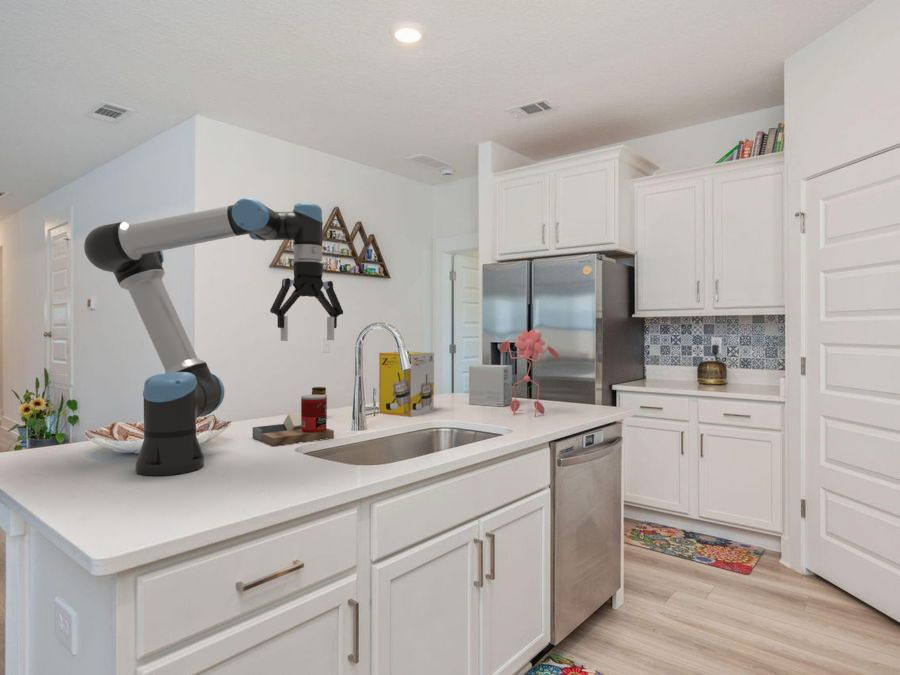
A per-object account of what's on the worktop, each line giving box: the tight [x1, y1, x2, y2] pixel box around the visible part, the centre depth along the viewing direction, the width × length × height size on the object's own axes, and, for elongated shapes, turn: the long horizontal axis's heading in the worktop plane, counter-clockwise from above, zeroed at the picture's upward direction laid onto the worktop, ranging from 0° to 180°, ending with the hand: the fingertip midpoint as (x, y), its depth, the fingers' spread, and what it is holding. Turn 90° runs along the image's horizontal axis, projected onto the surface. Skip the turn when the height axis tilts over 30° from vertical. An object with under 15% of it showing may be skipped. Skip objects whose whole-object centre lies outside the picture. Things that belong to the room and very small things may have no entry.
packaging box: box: [378, 351, 435, 418], centre depth 233 cm, size 16×16×25 cm
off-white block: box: [282, 411, 301, 430], centre depth 183 cm, size 4×4×5 cm
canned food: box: [300, 394, 328, 433], centre depth 178 cm, size 8×8×11 cm
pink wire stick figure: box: [499, 329, 560, 418], centre depth 232 cm, size 15×26×35 cm, turn 64°
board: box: [260, 427, 335, 447], centre depth 175 cm, size 20×9×2 cm, turn 130°
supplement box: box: [468, 364, 513, 407], centre depth 261 cm, size 17×13×18 cm
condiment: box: [311, 386, 328, 399], centre depth 217 cm, size 7×8×12 cm
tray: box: [252, 423, 287, 442], centre depth 181 cm, size 20×7×4 cm, turn 130°
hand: (308, 340), depth 152 cm, fingers open, 13 cm apart
